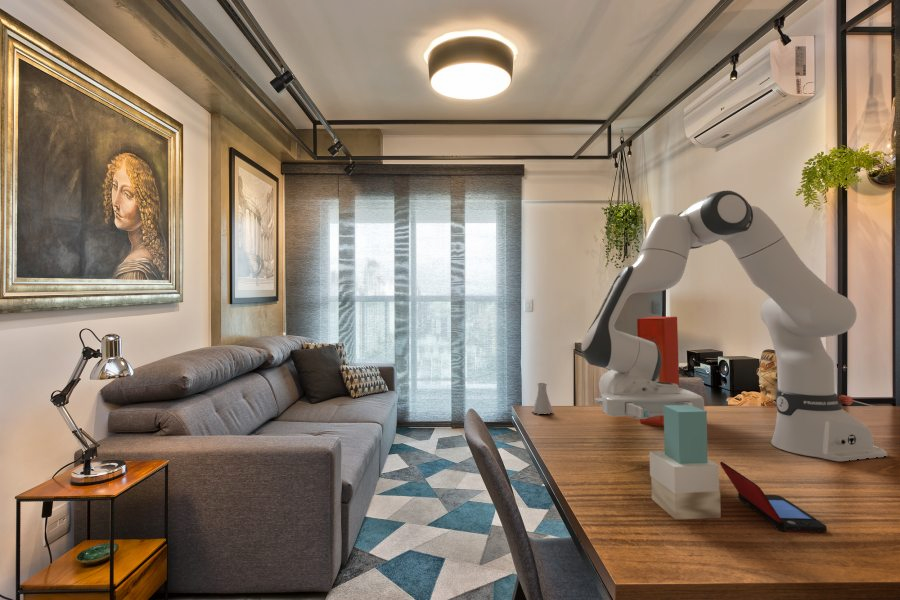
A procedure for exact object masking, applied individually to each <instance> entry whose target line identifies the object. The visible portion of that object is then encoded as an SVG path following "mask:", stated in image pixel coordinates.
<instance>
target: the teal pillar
mask: <svg viewBox="0 0 900 600" xmlns="http://www.w3.org/2000/svg"><path fill="white" fill-rule="evenodd" d="M707 414H708V413H707V410H705V409H704V410H702V409H699V408H697V407H694V406H692V405H664V426H663V436H664V437H663V439H664V440H663V441H664V451H665V455H667V456H668V457H670V458H671V459H673V460H674V461H676V462H678V463H679V464H689V463H708V460H709V458H708V423H707V422H708V420H707V419H708V418H707V417H708V416H707Z"/></svg>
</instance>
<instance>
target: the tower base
mask: <svg viewBox="0 0 900 600" xmlns="http://www.w3.org/2000/svg"><path fill="white" fill-rule="evenodd" d="M650 478H651V481H650V482H651V499H652V501H654V502H655V503H656V504H657V505H658V506H659V507H661V508H662V509H663V510H664V511H665V512H666V513H667V514H668V515H670V516H671V517H672V518H673V519H674V520H688V519H689V520H691V519H693V520H694V519H696V520H697V519H718V518H719V519H721V518H722V517H721V516H722V511H721V507H722V506H721V492H720V490H719V491H713V492H694V493H674V492H672V491H671V490H669V489H668V488H667V487H665V486H664V485H662V484H661V483H660V482H658V481H657V480H656V479H654V478H653V477H651V476H650Z"/></svg>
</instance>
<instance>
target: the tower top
mask: <svg viewBox="0 0 900 600" xmlns="http://www.w3.org/2000/svg"><path fill="white" fill-rule="evenodd" d="M719 466H720V464H717V463H716V462H714V461H713V460H710V459H708V463H689V464H679V463H678V462H676V461H674V460H673V459H671V458H670V457H668V456H667V455H665V450H657V451H655V450H654V451H652V450H651V451H649V476H650V478H651V477H653V478H654V479H656V480H657V481H658V482H660V483H661V484H662V485H664V486H665V487H667V488H668V489H669V490H671V491H672V492H674V493H694V492H713V491H719V492H720V469H719V468H720V467H719Z"/></svg>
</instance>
